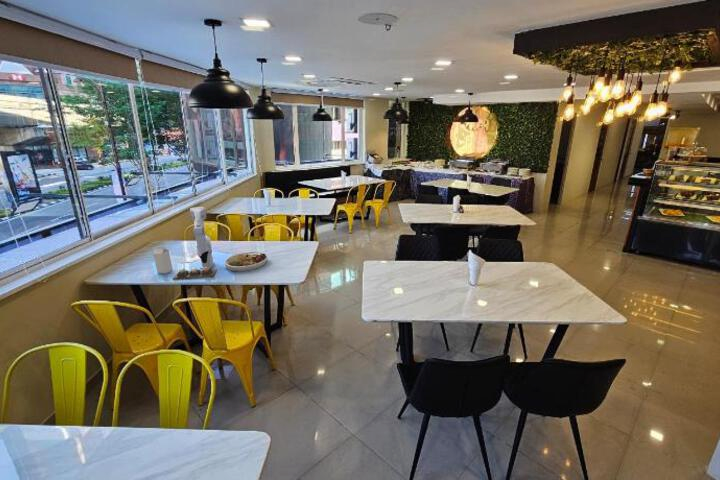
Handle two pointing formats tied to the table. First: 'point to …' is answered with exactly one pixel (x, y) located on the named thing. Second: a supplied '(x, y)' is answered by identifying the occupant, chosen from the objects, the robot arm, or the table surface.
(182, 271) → the sage button
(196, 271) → the cream button
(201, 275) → the panel
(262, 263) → the bowl
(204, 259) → the robot arm
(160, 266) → the milk carton
